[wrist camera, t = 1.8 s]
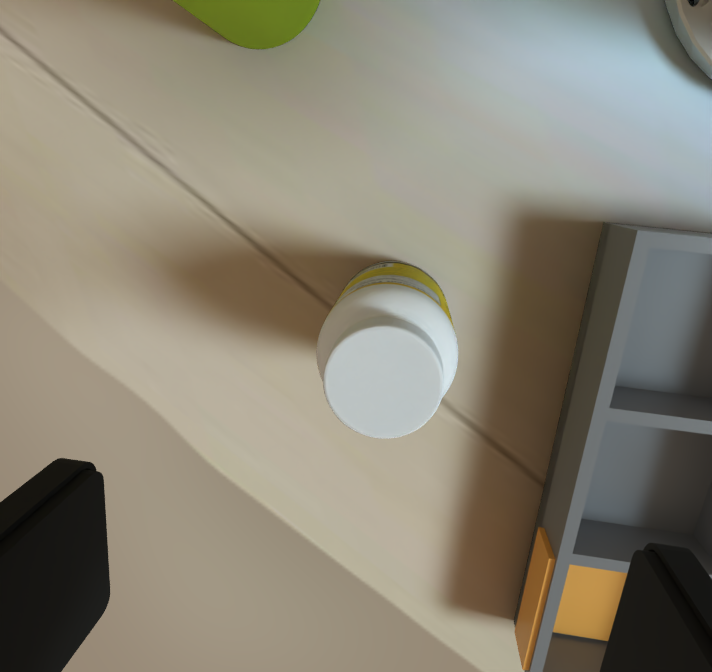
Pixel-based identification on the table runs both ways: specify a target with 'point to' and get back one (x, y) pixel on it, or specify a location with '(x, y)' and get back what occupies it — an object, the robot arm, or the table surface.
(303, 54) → the table surface
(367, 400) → the supplement bottle
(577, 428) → the rack
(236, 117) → the table surface
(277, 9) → the soap dispenser
